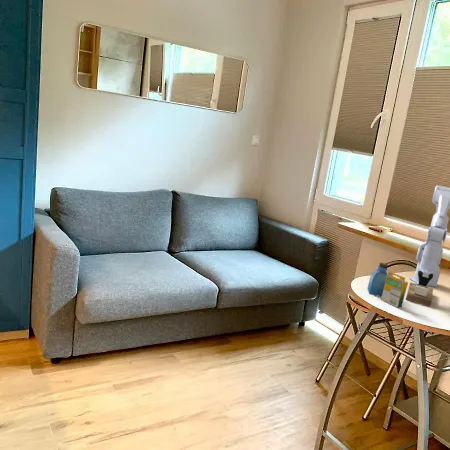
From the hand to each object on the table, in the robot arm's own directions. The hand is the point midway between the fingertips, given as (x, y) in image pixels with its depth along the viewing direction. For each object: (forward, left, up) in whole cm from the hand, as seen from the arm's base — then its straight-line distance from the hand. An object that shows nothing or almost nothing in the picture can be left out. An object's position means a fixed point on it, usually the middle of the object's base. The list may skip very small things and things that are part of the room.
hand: (421, 290), depth 181 cm
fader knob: (+2, +2, -1) cm, 3 cm away
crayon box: (+16, +8, -4) cm, 19 cm away
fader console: (-1, -2, -4) cm, 4 cm away
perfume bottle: (+18, -2, -4) cm, 18 cm away
